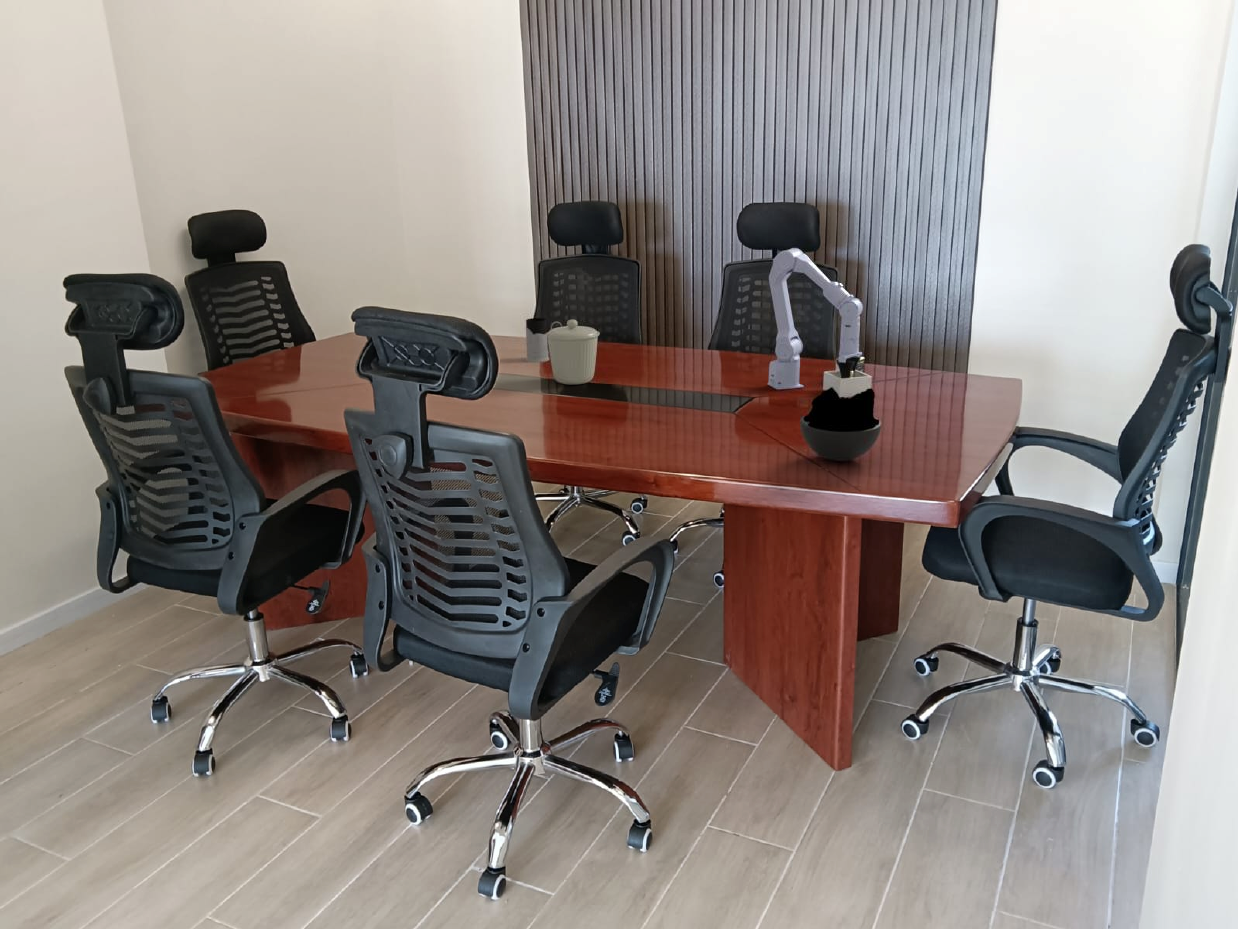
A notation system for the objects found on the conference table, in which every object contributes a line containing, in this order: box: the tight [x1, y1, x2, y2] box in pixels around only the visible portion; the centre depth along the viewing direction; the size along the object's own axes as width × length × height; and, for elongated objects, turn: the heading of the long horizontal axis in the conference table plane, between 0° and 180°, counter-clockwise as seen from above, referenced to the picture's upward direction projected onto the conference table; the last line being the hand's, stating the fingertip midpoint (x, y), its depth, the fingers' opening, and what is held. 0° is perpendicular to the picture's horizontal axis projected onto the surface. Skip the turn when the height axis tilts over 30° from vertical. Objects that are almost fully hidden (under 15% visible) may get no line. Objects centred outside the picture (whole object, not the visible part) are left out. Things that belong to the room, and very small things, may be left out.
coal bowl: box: [799, 387, 882, 462], centre depth 252 cm, size 20×20×19 cm
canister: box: [545, 319, 601, 385], centre depth 338 cm, size 18×18×21 cm
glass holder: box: [525, 317, 563, 363], centre depth 374 cm, size 9×14×15 cm, turn 107°
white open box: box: [822, 370, 873, 398], centre depth 320 cm, size 11×11×6 cm
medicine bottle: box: [835, 344, 866, 373], centre depth 337 cm, size 7×7×12 cm
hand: (847, 380), depth 320 cm, fingers closed on plunger, 4 cm apart
